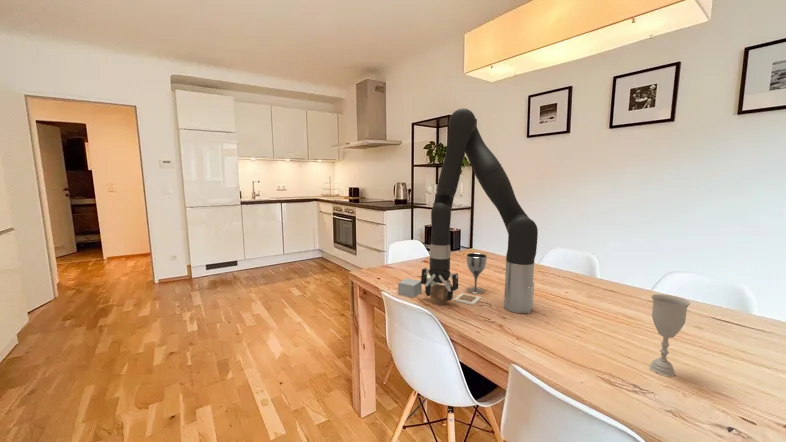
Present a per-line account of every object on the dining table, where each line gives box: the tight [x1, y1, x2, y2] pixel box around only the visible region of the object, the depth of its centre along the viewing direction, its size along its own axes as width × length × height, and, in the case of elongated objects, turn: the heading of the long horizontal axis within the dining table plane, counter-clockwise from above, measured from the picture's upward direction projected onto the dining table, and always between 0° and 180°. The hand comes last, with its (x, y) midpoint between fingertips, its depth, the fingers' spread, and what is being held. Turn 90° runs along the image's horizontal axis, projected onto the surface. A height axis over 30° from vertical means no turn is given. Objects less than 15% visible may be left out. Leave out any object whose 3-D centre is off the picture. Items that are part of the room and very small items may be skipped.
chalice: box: [649, 293, 692, 377], centre depth 77 cm, size 7×7×18 cm
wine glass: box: [466, 252, 488, 294], centre depth 133 cm, size 8×8×15 cm
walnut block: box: [429, 283, 449, 306], centre depth 121 cm, size 5×5×6 cm
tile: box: [452, 293, 482, 306], centre depth 124 cm, size 8×8×1 cm
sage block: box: [424, 273, 440, 293], centre depth 134 cm, size 5×5×6 cm
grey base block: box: [397, 277, 423, 299], centre depth 130 cm, size 7×7×5 cm
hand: (438, 297), depth 121 cm, fingers open, 8 cm apart
